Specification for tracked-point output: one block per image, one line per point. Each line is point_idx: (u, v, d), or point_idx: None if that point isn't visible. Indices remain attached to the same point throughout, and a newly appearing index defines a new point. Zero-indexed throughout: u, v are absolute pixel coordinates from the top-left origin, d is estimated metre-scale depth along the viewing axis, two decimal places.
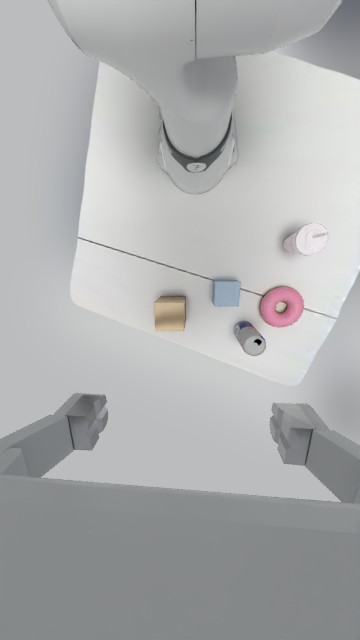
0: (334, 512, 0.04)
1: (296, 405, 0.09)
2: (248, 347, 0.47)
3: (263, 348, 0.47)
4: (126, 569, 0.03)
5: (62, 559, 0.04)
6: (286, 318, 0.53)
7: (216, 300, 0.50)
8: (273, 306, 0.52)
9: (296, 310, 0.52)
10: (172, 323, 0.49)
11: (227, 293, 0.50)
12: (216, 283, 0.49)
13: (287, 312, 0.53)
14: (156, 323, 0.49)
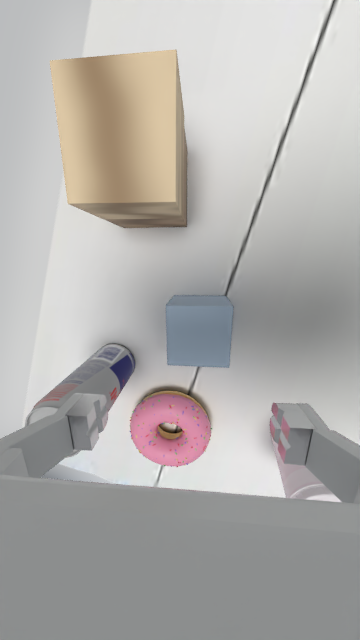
0: (334, 512, 0.04)
1: (296, 405, 0.09)
2: None
3: None
4: (126, 569, 0.03)
5: (62, 559, 0.04)
6: (148, 443, 0.26)
7: (181, 310, 0.18)
8: (172, 422, 0.25)
9: (166, 458, 0.26)
10: (93, 152, 0.12)
11: (200, 338, 0.19)
12: (229, 309, 0.18)
13: (160, 440, 0.27)
14: (82, 66, 0.11)
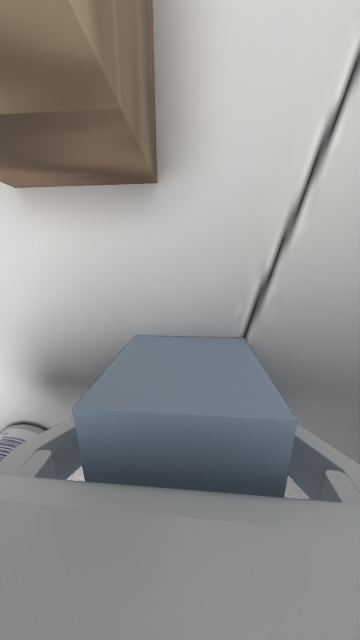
0: (334, 511, 0.04)
1: None
2: None
3: None
4: (127, 569, 0.03)
5: (62, 559, 0.04)
6: None
7: (124, 424, 0.06)
8: None
9: None
10: None
11: None
12: (281, 428, 0.05)
13: None
14: None
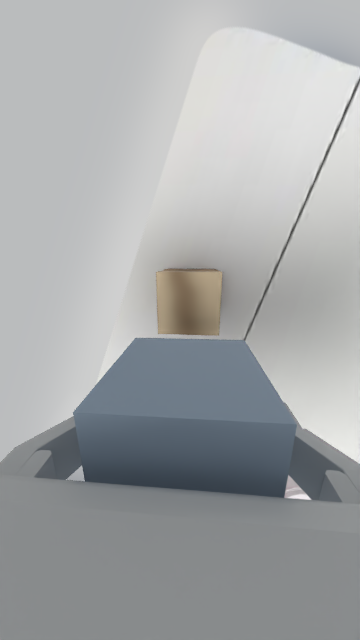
0: (334, 512, 0.04)
1: None
2: None
3: None
4: (126, 569, 0.03)
5: (62, 559, 0.04)
6: None
7: (125, 428, 0.06)
8: None
9: None
10: (175, 311, 0.23)
11: None
12: (281, 432, 0.05)
13: None
14: (173, 275, 0.22)
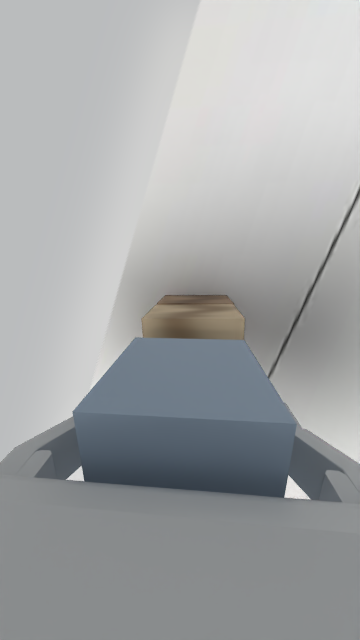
0: (334, 511, 0.04)
1: None
2: None
3: None
4: (126, 569, 0.03)
5: (62, 559, 0.04)
6: None
7: (124, 427, 0.06)
8: None
9: None
10: None
11: None
12: (281, 431, 0.05)
13: None
14: (168, 323, 0.14)
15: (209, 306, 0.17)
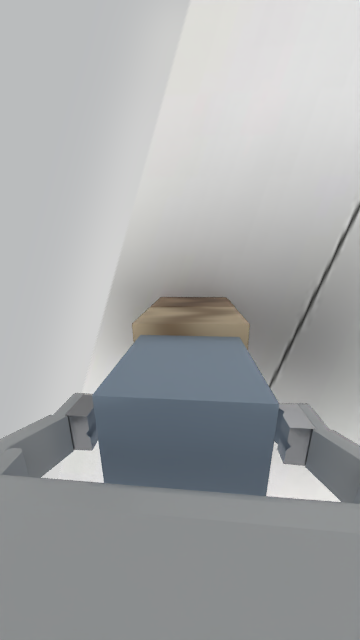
0: (334, 512, 0.04)
1: (296, 405, 0.09)
2: None
3: None
4: (127, 569, 0.03)
5: (62, 559, 0.04)
6: None
7: (135, 409, 0.07)
8: None
9: None
10: None
11: (188, 474, 0.07)
12: (266, 410, 0.06)
13: None
14: (162, 329, 0.12)
15: (208, 309, 0.16)
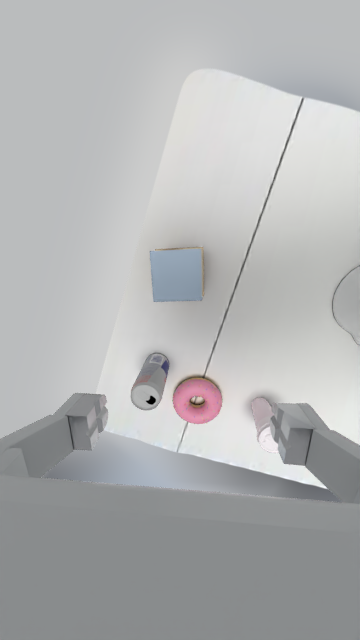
0: (334, 511, 0.04)
1: (296, 405, 0.09)
2: (142, 390, 0.33)
3: (142, 407, 0.34)
4: (126, 570, 0.03)
5: (62, 559, 0.04)
6: (185, 409, 0.44)
7: (162, 254, 0.24)
8: (200, 395, 0.42)
9: (196, 418, 0.44)
10: None
11: (178, 277, 0.24)
12: (198, 251, 0.23)
13: (191, 408, 0.45)
14: None
15: None
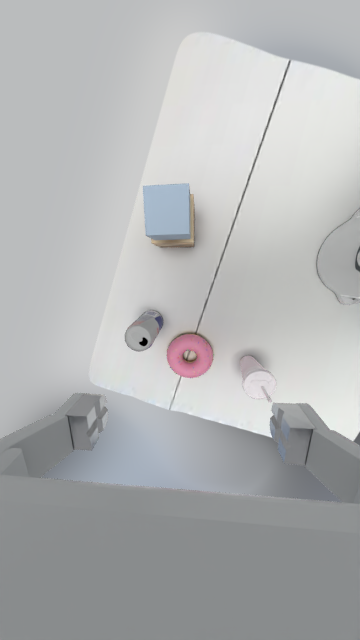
0: (334, 511, 0.04)
1: (296, 405, 0.09)
2: (135, 331, 0.36)
3: (135, 348, 0.37)
4: (126, 569, 0.03)
5: (62, 559, 0.04)
6: (178, 362, 0.46)
7: (154, 189, 0.26)
8: (192, 348, 0.45)
9: (187, 372, 0.47)
10: None
11: (168, 211, 0.27)
12: (186, 185, 0.26)
13: (184, 362, 0.47)
14: None
15: None
